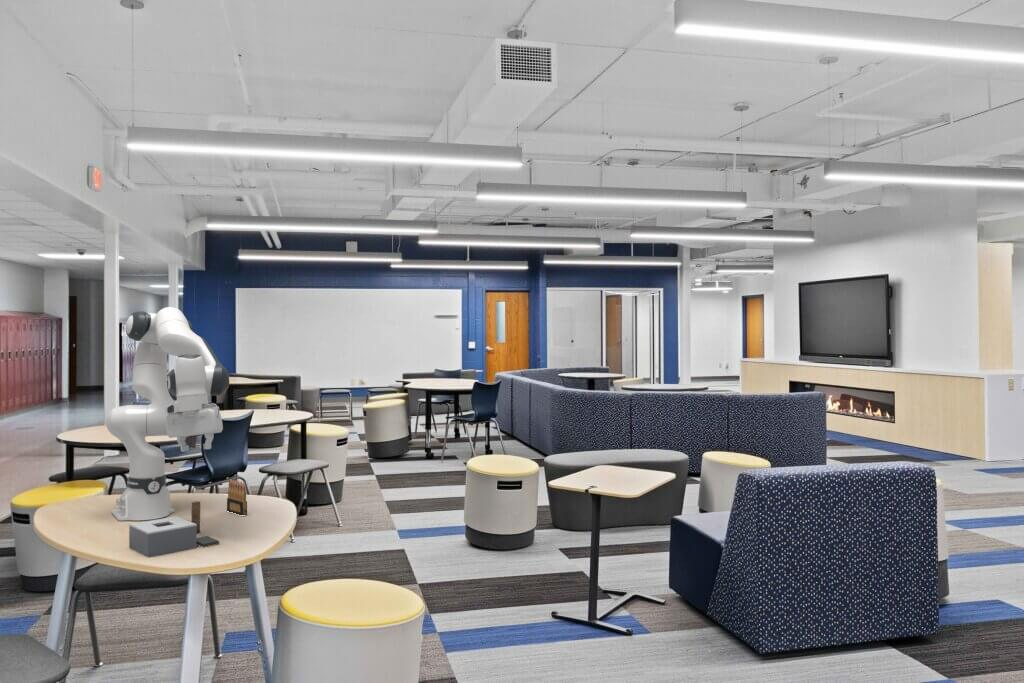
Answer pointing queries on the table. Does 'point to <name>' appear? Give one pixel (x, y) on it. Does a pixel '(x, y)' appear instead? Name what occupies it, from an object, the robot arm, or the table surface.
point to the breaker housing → (162, 536)
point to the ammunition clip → (237, 498)
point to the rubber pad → (206, 541)
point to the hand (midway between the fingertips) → (196, 450)
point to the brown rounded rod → (196, 514)
